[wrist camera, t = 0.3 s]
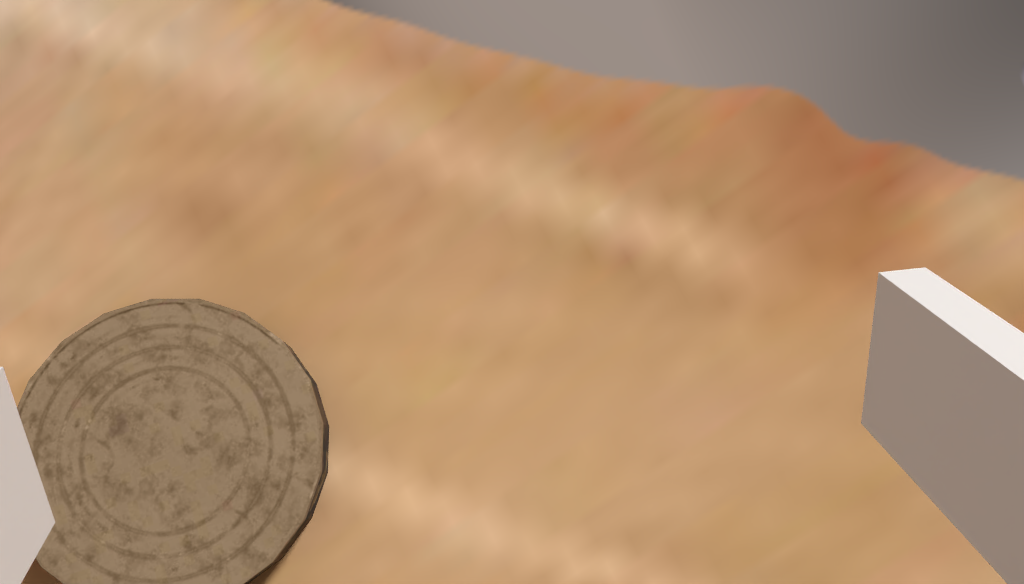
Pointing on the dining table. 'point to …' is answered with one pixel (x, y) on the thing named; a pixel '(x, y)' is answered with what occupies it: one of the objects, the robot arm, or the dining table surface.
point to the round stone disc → (174, 446)
